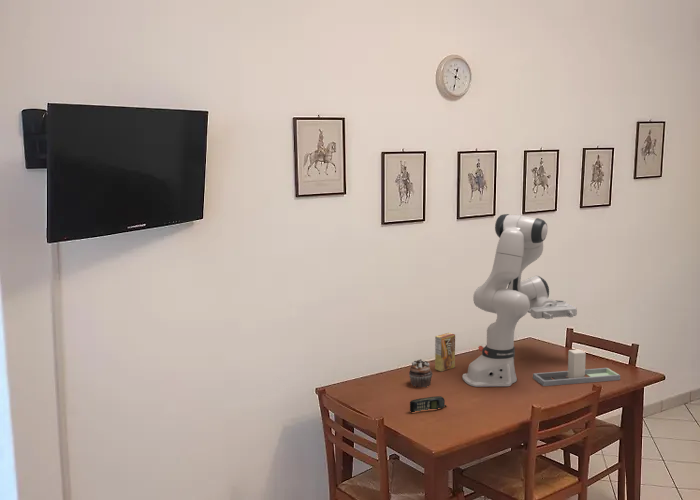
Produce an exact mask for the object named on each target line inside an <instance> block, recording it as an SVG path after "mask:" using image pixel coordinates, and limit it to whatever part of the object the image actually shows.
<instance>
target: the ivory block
mask: <svg viewBox="0 0 700 500" xmlns="http://www.w3.org/2000/svg"><path fill="white" fill-rule="evenodd" d="M567 354H568V355H567V356H568V359H567V371H568V376H567V377H568V378H569V379H570V378H582V377H586V375H585V369H586V356H587V354H586V352H585V351H583V350H582V349H579V348H578V349H569V350H568V353H567Z"/></svg>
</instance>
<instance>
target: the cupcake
mask: <svg viewBox="0 0 700 500" xmlns="http://www.w3.org/2000/svg"><path fill="white" fill-rule="evenodd" d="M408 373H409V374H408V375H409V379H410V384H412V385H413V386H412V385H411V386H412V387H414V386H416V387H415V388H417V387H425V388H428V387H427V386H429V385H430V386H431V383H432V376H433V372H432V370H431V367H430V363H429V362H428V361H427V360H422V359H418V360H414V361H412V362H411V366H410V368H409V372H408ZM430 386H429V387H430Z"/></svg>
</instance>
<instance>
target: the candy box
mask: <svg viewBox="0 0 700 500" xmlns="http://www.w3.org/2000/svg"><path fill="white" fill-rule="evenodd" d="M434 337H435V339H434V340H435V344H434V346H435V347H434V349H435V351H434V352H435V353H434V357H435V358H434V370H435V371H439V372H443V371H444V372H445V371H448V370H451V369H454V368H456V334H455V333H452V332H447V333H444V334H443V333H442V334H438V335H435V336H434Z"/></svg>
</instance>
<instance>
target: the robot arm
mask: <svg viewBox="0 0 700 500" xmlns="http://www.w3.org/2000/svg"><path fill="white" fill-rule="evenodd" d="M494 231H495V234H496V235H497V237H498V238H499V239H498V242H497V246H496V249H495V255H494V260H493V265H492V269H491V272H490V273H489V275H488V278H487V279H486V280H485V282H484V283H483V284H481V285H480V286H478V287H477V288H476V289H475V291H474V292H473V296H472V297H473V304H474V306H475V307H477V308H478V309H480V310H482V311H484V312H486V313H487V312H488V313H492V314H496V320H495V321H494V322H492V323H491V324H489V325H488V326H487V328H486V344H485V346H482V345H478V349H477V350H478V351H479V352H481V355H479V356H478V357H477V358H476V359H474V360H473V361H472V362H470V363H469V364H468V368H467V372H466V373H463V374H462V375H461V377H462V381H464V382H465V383H466V384H467V385H468V386H471V387H476V388H477V387H481V388H482V387H511V386H512V384H514V383H516V382H517V381H518V379H517V374H516V369H515V357H516V356H515V355H516V351H515V344H514V342H515V340H514V339H515V332H516V331H515V330H516V326H517V323H519V321H520V319H522V318H523V317H525V316H526V315H527V313H529V314H530V316H531V317H532V318H534V319H537V320H538V319H545V320H552V319H555V318H564V317H565V318H566V317H568V318H574V317H576V316H577V314H578V309H577V307H576V306H575V305H572V304H570V303H568V302H567V301H564V300H554V299H551V298H549V296H550V288H549V285H548V283H547V281H546V280H545V279H544V278H543V277H541V276H539V275H534V276H532V277H529V278H527V279H523V280H522V273H523V271H524V270H525V269H526V268H527V267H528V266H530V265H531V264H532V263H534V262H535V261H536V260H538V259H539V258H541V256H542V255H543V251H544V241H545V239H546V238H547V236H548V223H546V221H545V220H544V219H541V218H539V217H537V218H535V217H531V216H526V215H522V214H509V213H506V214H505V213H504V214H500V215H499V216H498V217H497V219H496V221H495V226H494Z"/></svg>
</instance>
